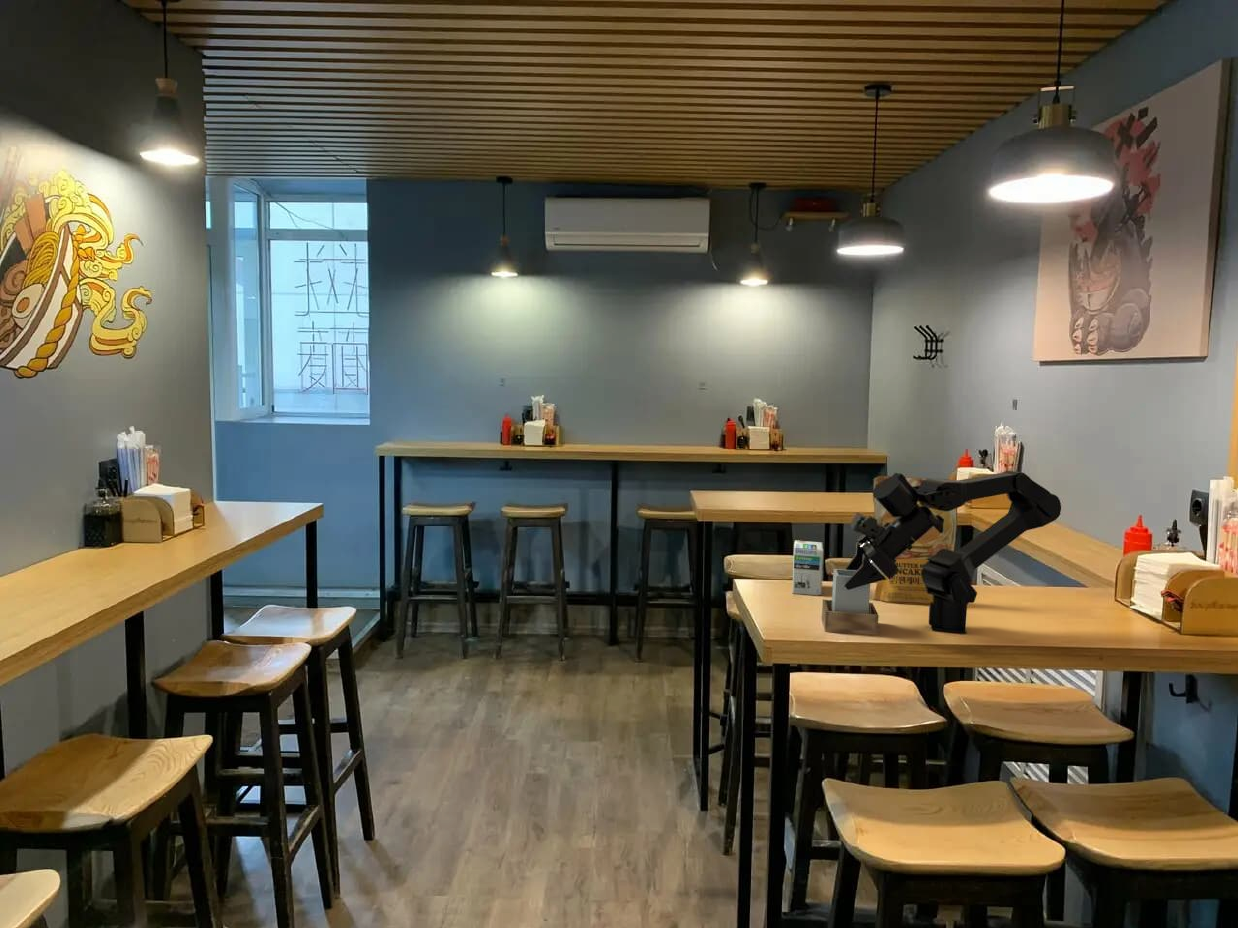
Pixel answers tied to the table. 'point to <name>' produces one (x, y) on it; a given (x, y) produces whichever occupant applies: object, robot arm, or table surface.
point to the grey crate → (849, 594)
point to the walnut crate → (849, 620)
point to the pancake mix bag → (913, 554)
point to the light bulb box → (807, 567)
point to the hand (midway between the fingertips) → (844, 582)
